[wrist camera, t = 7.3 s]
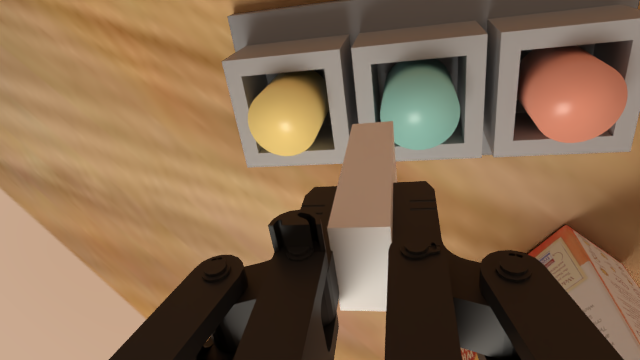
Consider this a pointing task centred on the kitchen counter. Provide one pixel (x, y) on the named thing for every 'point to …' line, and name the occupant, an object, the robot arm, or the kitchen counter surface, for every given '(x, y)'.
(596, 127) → the salmon button
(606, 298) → the cracker box
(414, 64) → the teal button
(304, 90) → the mustard button
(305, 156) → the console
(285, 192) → the kitchen counter surface
